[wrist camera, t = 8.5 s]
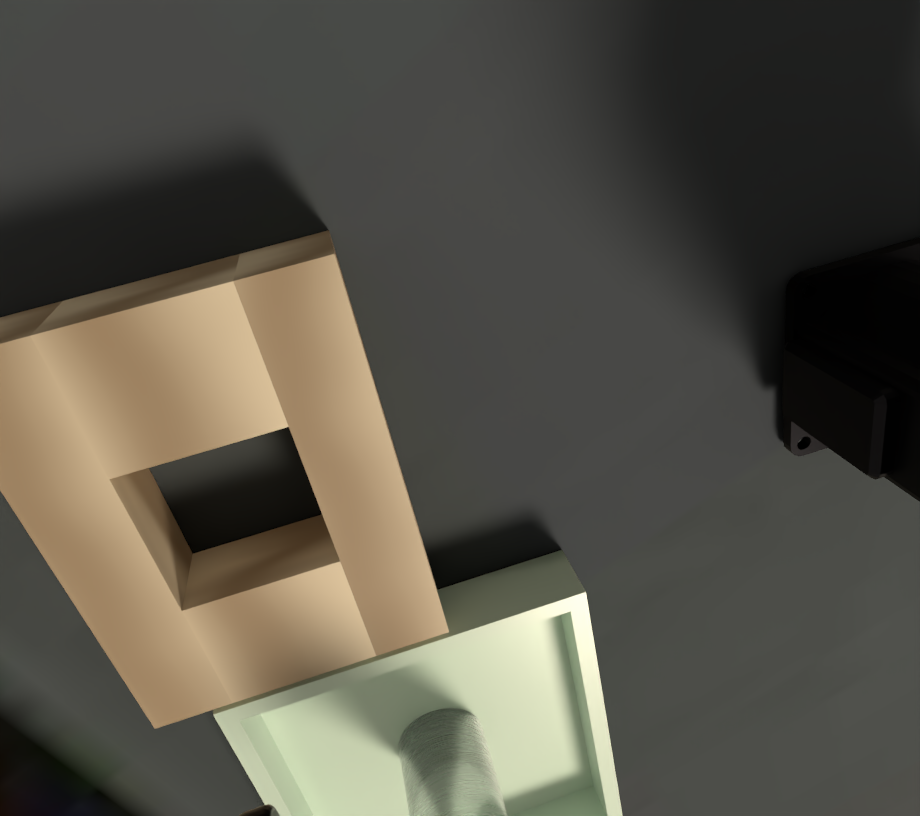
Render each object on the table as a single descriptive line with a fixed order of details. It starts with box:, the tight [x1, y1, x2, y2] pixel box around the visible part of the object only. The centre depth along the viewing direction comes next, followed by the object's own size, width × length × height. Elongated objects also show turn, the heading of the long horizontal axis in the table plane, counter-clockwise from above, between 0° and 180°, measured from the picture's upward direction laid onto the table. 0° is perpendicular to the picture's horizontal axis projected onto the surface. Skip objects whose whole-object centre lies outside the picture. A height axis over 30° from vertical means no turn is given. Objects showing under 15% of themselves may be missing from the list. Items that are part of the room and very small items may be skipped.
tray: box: [213, 550, 622, 816], centre depth 26 cm, size 12×13×2 cm
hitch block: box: [0, 230, 449, 729], centre depth 19 cm, size 9×12×2 cm
